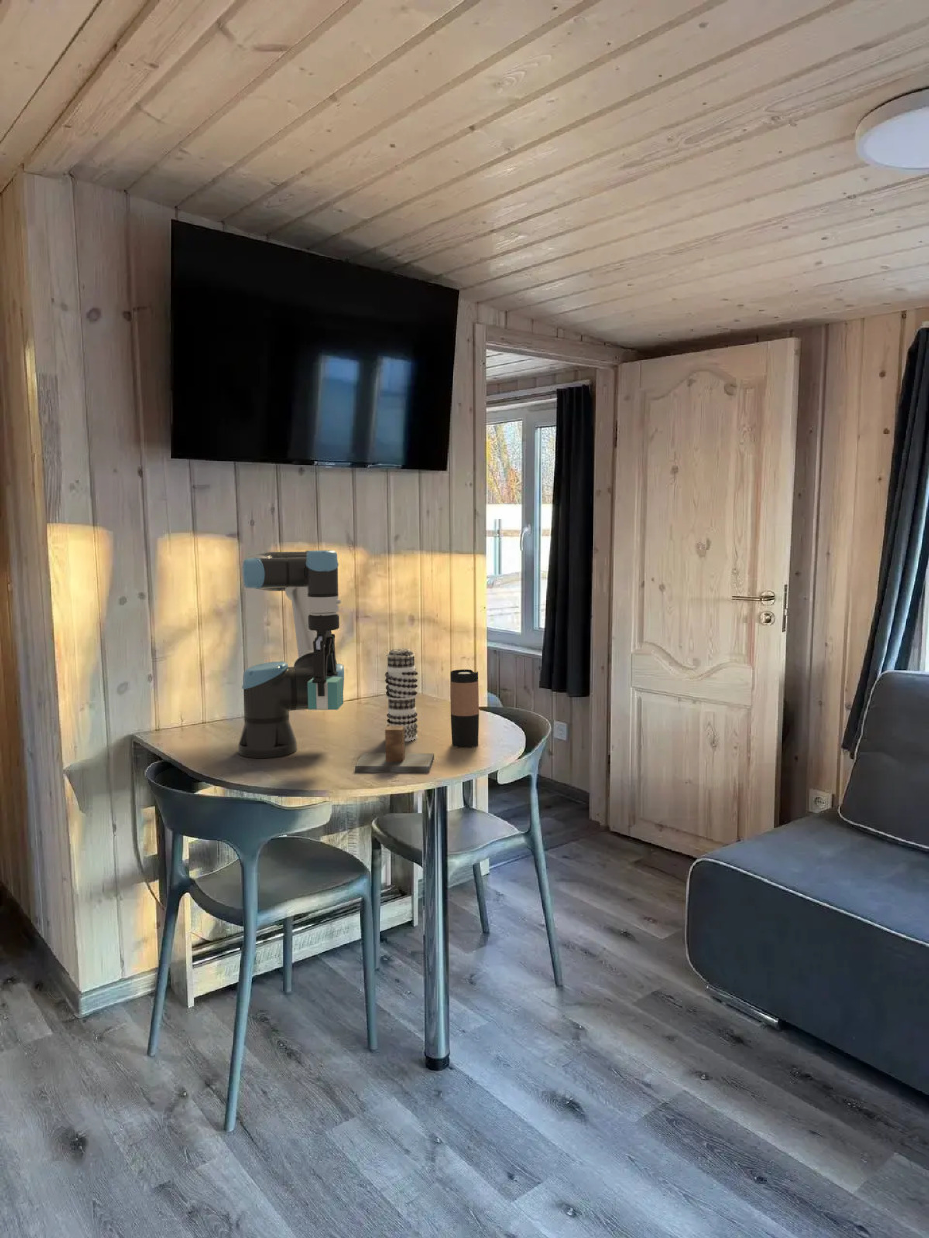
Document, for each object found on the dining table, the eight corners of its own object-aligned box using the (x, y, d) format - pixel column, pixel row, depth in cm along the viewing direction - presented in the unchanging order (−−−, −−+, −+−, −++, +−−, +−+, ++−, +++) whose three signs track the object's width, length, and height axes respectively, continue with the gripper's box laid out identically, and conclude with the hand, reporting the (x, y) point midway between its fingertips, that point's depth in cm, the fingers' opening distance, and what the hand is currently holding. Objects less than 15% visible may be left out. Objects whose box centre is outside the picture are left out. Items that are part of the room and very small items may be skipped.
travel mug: (449, 747, 230) (448, 673, 228) (453, 740, 238) (452, 669, 235) (477, 748, 229) (476, 674, 227) (480, 741, 236) (480, 669, 234)
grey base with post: (355, 771, 208) (354, 733, 207) (363, 758, 220) (363, 722, 219) (429, 772, 207) (428, 733, 206) (434, 759, 219) (433, 722, 218)
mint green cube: (308, 709, 210) (307, 682, 209) (315, 703, 217) (314, 676, 216) (337, 709, 209) (336, 682, 209) (343, 703, 216) (342, 676, 216)
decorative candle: (420, 733, 246) (418, 647, 243) (417, 741, 237) (416, 651, 234) (388, 733, 246) (386, 647, 243) (384, 742, 237) (382, 652, 234)
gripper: (329, 618, 200) (332, 714, 203) (346, 609, 220) (349, 697, 223) (298, 618, 201) (301, 714, 203) (317, 609, 221) (320, 697, 223)
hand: (326, 705), depth 213 cm, fingers closed on mint green cube, 7 cm apart
